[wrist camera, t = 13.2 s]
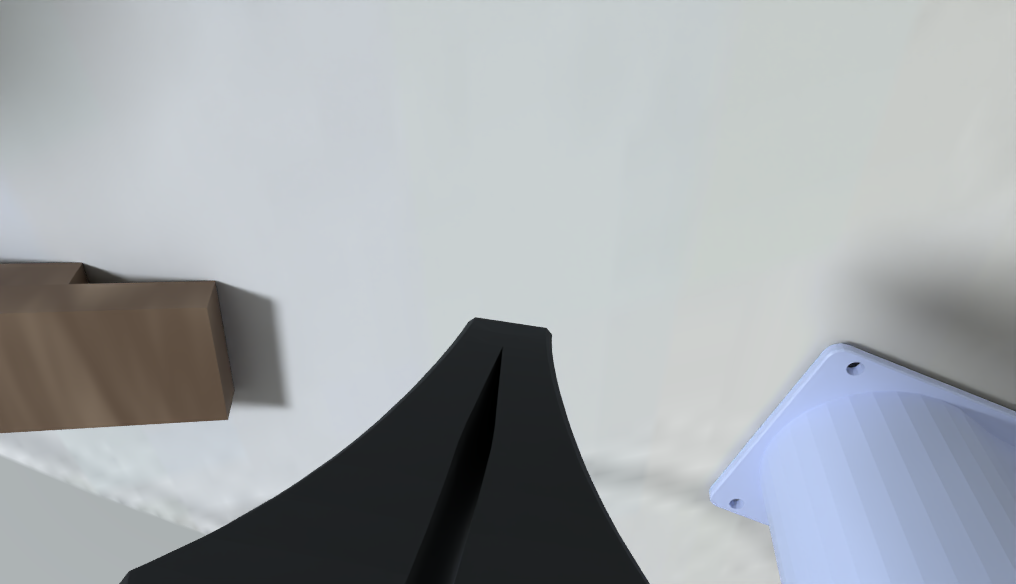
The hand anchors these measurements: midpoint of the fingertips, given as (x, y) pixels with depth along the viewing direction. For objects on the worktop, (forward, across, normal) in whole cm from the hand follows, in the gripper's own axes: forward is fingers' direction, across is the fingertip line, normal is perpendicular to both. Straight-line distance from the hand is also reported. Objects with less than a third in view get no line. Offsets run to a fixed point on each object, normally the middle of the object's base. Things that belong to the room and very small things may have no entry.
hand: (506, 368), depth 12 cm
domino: (+9, +11, +8) cm, 16 cm away
